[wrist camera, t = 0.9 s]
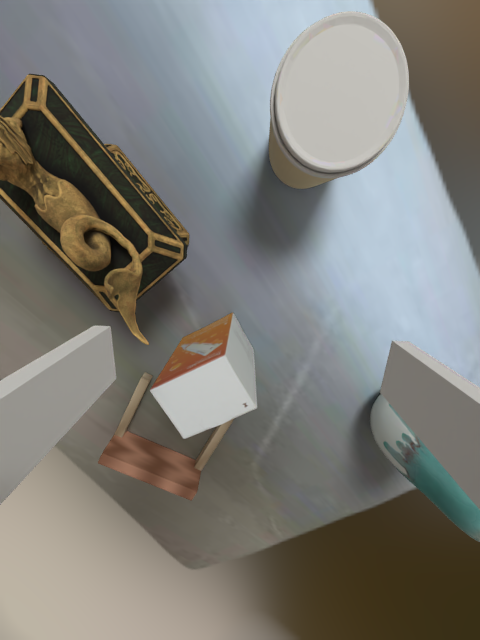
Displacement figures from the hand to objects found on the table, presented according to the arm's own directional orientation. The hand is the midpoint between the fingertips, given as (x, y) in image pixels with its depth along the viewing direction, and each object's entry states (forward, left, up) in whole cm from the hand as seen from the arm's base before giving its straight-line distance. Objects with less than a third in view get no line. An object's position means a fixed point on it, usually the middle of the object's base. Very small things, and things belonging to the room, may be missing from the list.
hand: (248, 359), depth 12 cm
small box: (+1, -9, -22) cm, 24 cm away
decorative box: (-14, 0, -22) cm, 27 cm away
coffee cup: (-1, +16, -22) cm, 27 cm away
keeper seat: (+1, -24, -22) cm, 33 cm away
